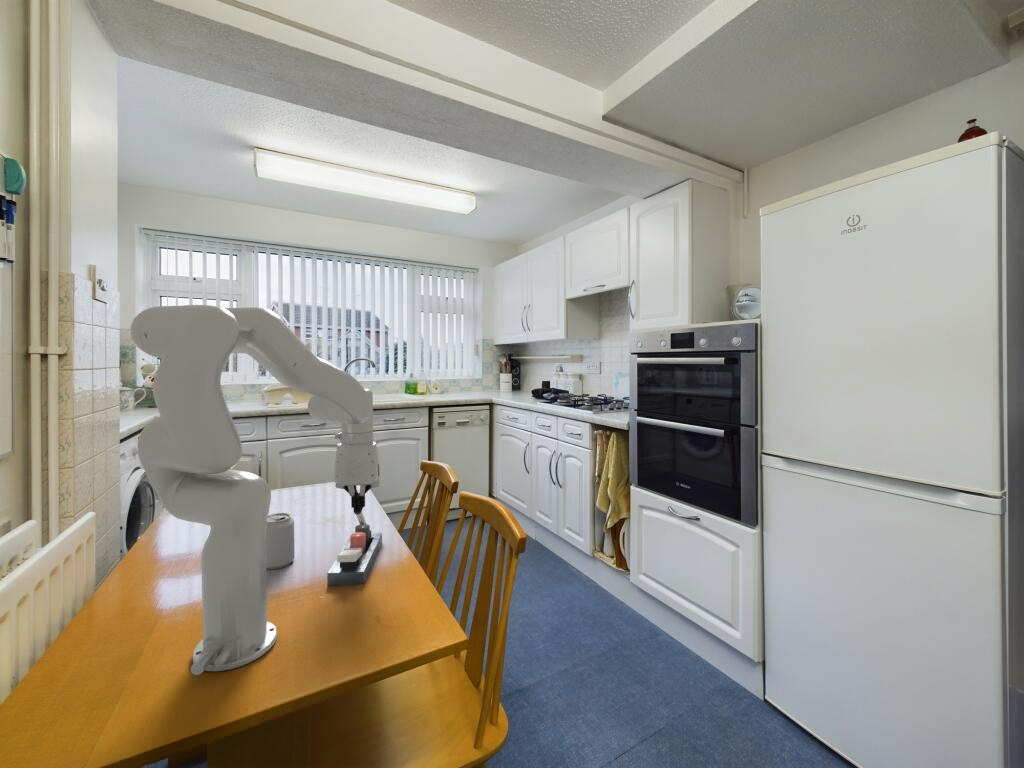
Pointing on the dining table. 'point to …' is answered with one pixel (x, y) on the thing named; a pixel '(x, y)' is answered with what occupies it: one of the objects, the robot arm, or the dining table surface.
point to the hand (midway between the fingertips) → (358, 510)
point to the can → (279, 540)
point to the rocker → (349, 555)
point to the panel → (355, 565)
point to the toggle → (360, 517)
